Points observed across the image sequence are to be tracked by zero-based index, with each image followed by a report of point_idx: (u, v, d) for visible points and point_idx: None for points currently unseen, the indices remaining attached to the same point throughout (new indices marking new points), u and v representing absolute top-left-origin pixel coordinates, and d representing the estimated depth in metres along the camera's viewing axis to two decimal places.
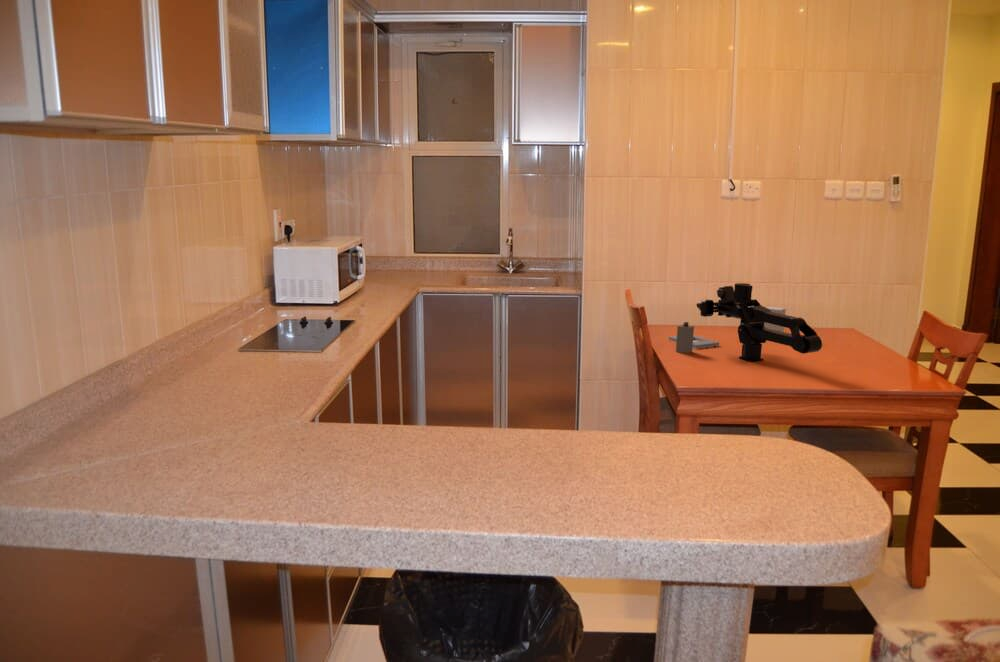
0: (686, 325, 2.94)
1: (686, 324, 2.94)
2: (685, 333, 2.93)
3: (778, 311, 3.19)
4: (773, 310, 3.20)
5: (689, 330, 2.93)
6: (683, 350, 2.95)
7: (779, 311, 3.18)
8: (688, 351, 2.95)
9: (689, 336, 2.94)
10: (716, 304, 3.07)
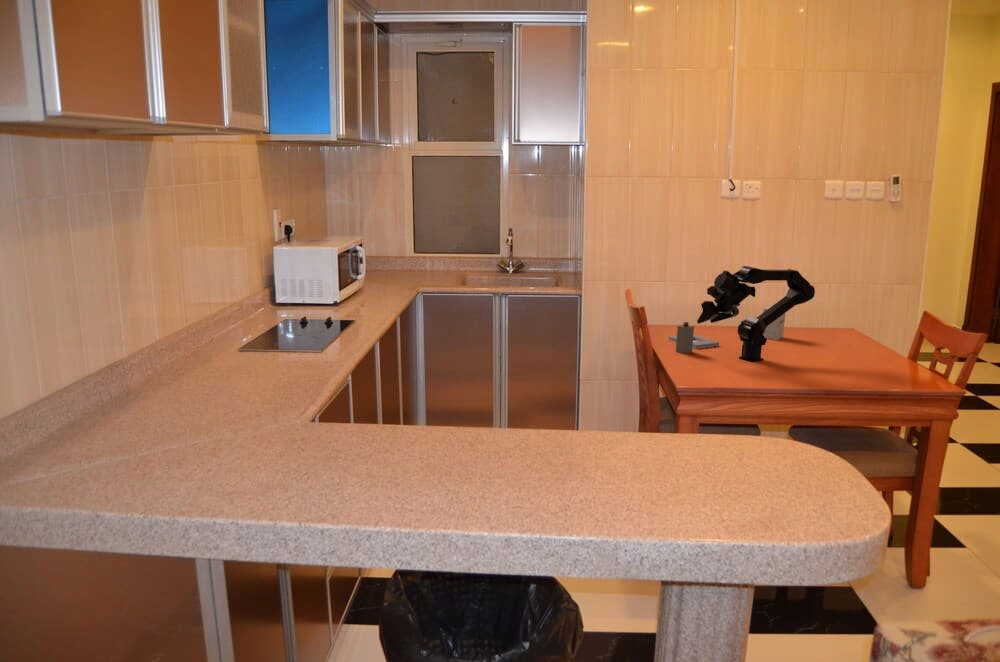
0: (686, 325, 2.94)
1: (686, 324, 2.94)
2: (685, 333, 2.93)
3: None
4: None
5: (689, 330, 2.93)
6: (683, 350, 2.95)
7: None
8: (688, 351, 2.95)
9: (689, 336, 2.94)
10: (713, 320, 2.94)
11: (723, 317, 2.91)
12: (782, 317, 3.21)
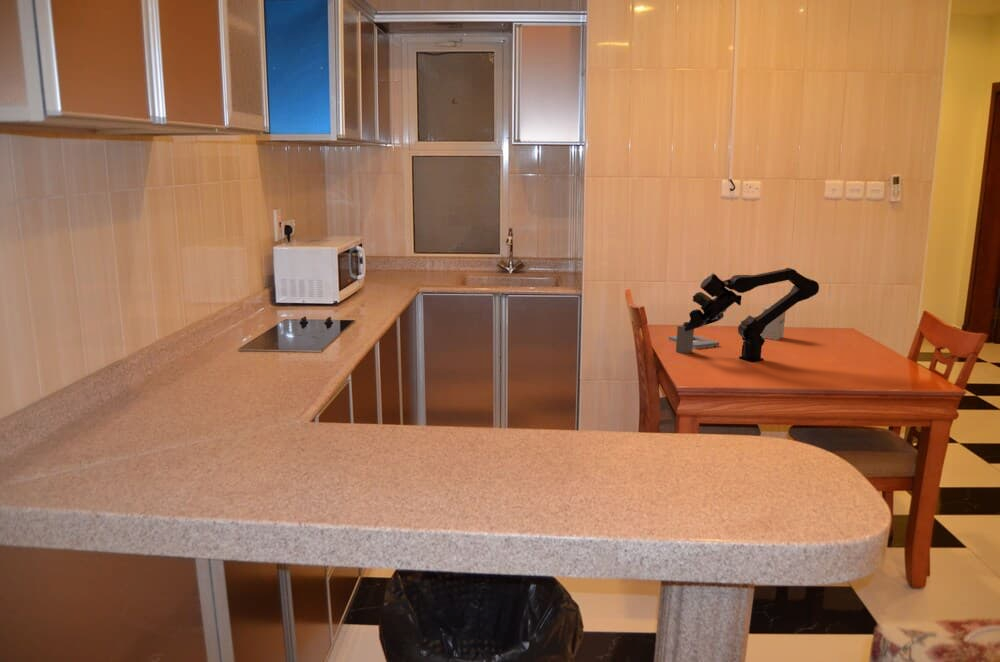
0: (686, 325, 2.94)
1: (686, 324, 2.94)
2: (685, 333, 2.93)
3: None
4: None
5: (689, 330, 2.93)
6: (683, 350, 2.95)
7: None
8: (688, 351, 2.95)
9: (689, 336, 2.94)
10: None
11: (708, 322, 2.94)
12: (782, 317, 3.21)
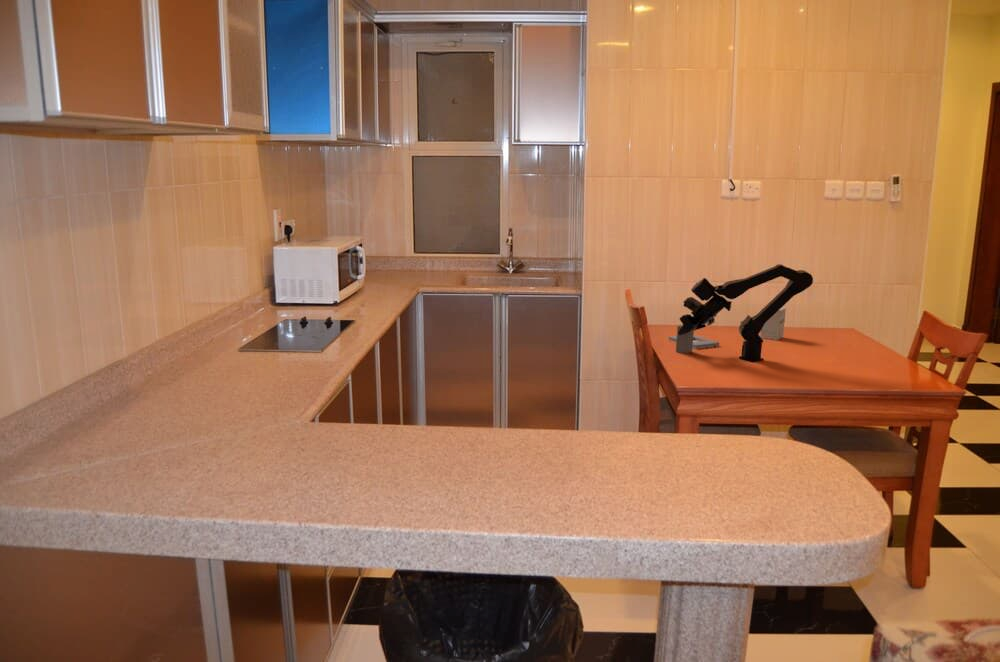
0: None
1: None
2: (685, 333, 2.93)
3: (778, 311, 3.19)
4: None
5: None
6: (683, 350, 2.95)
7: (779, 311, 3.18)
8: (688, 351, 2.95)
9: (689, 336, 2.94)
10: None
11: (697, 327, 2.95)
12: (782, 317, 3.21)
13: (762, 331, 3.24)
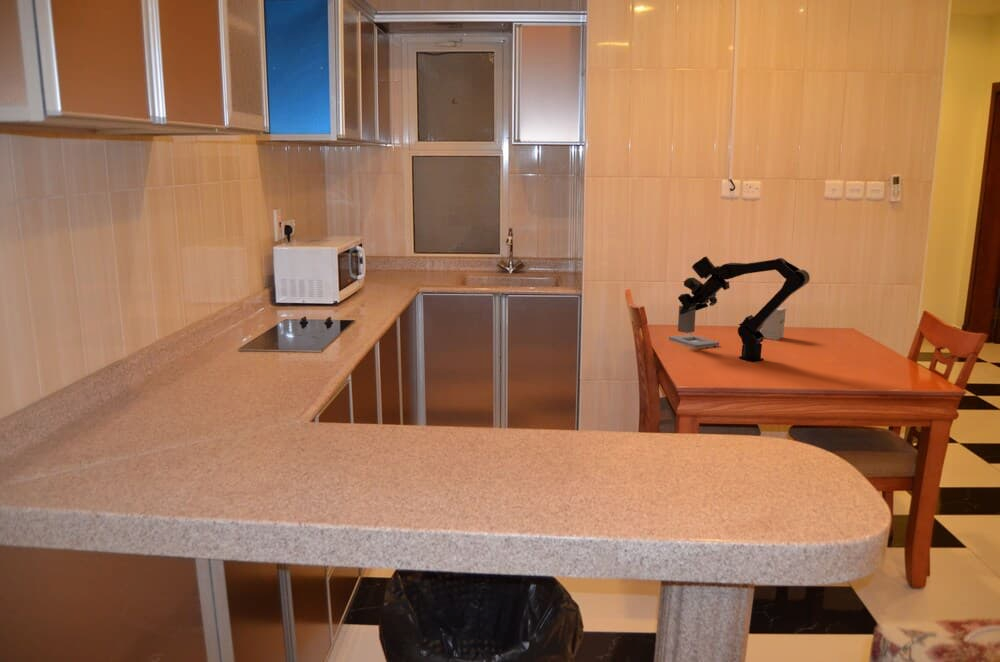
0: None
1: None
2: (686, 313, 3.00)
3: (778, 311, 3.19)
4: None
5: None
6: (684, 329, 3.02)
7: (779, 311, 3.18)
8: (689, 330, 3.02)
9: (690, 316, 3.00)
10: None
11: (699, 307, 3.01)
12: (782, 317, 3.21)
13: (762, 331, 3.24)
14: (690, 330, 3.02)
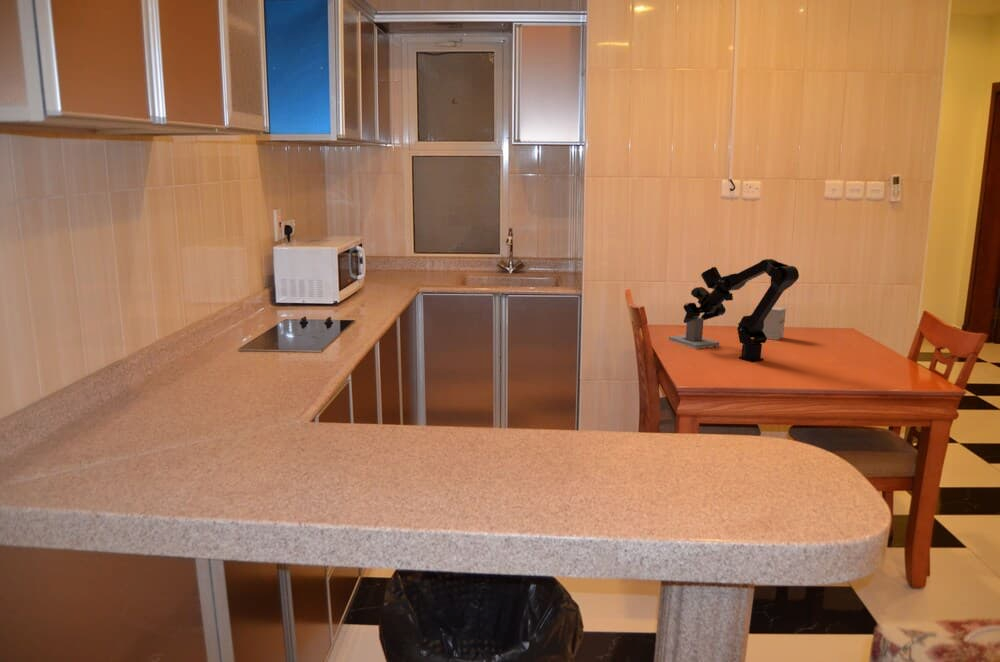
0: None
1: None
2: (693, 324, 3.08)
3: (778, 311, 3.19)
4: (773, 310, 3.20)
5: (697, 322, 3.08)
6: (691, 340, 3.10)
7: (779, 311, 3.18)
8: (696, 341, 3.10)
9: (697, 328, 3.09)
10: None
11: (710, 316, 3.10)
12: (782, 317, 3.21)
13: None
14: (697, 341, 3.10)
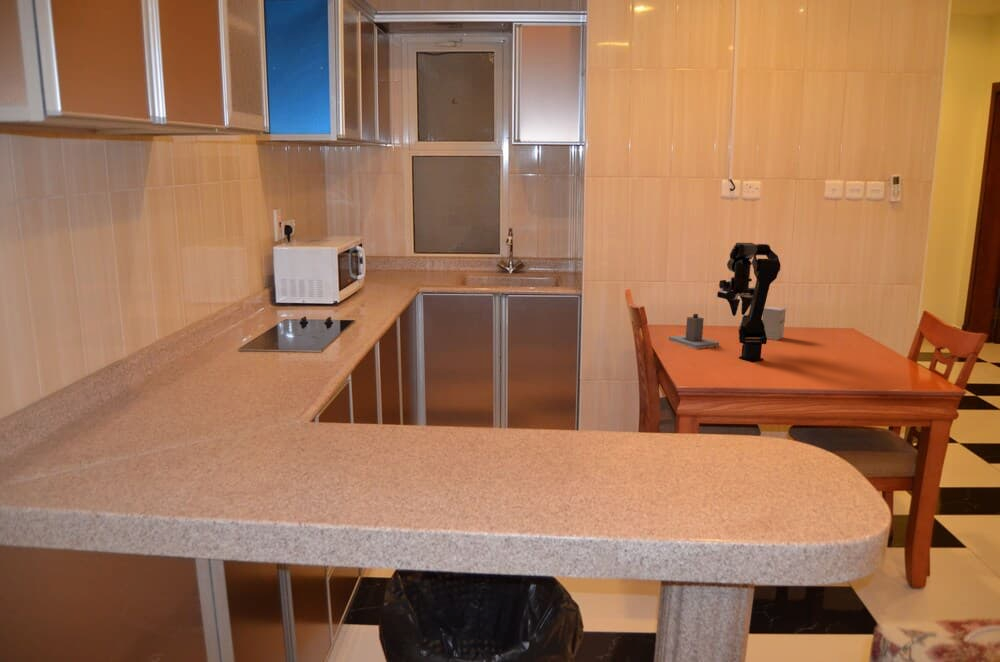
0: (695, 317, 3.09)
1: (695, 316, 3.09)
2: (693, 324, 3.08)
3: (778, 311, 3.19)
4: (773, 310, 3.20)
5: (697, 322, 3.08)
6: (691, 340, 3.10)
7: (779, 311, 3.18)
8: (696, 341, 3.10)
9: (697, 328, 3.09)
10: (742, 311, 3.04)
11: (747, 302, 3.02)
12: (782, 317, 3.21)
13: None
14: (697, 341, 3.10)
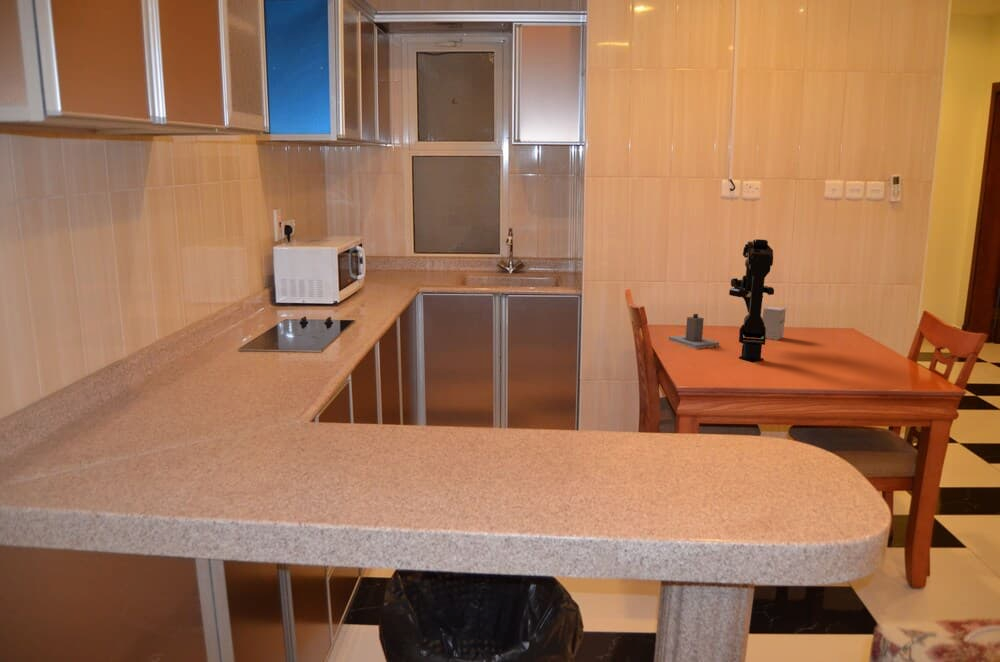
0: (695, 317, 3.09)
1: (695, 316, 3.09)
2: (693, 324, 3.08)
3: (778, 311, 3.19)
4: (773, 310, 3.20)
5: (697, 322, 3.08)
6: (691, 340, 3.10)
7: (779, 311, 3.18)
8: (696, 341, 3.10)
9: (697, 328, 3.09)
10: (750, 309, 3.08)
11: None
12: (782, 317, 3.21)
13: None
14: (697, 341, 3.10)
